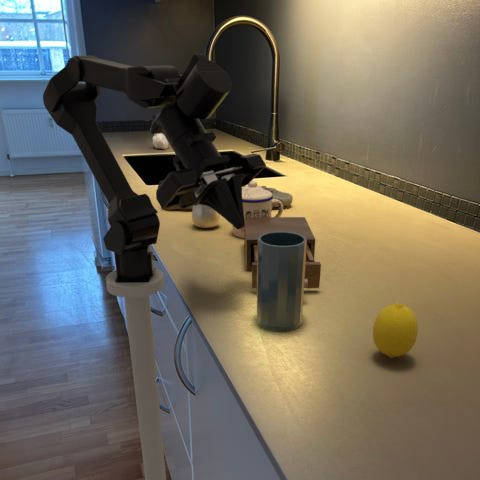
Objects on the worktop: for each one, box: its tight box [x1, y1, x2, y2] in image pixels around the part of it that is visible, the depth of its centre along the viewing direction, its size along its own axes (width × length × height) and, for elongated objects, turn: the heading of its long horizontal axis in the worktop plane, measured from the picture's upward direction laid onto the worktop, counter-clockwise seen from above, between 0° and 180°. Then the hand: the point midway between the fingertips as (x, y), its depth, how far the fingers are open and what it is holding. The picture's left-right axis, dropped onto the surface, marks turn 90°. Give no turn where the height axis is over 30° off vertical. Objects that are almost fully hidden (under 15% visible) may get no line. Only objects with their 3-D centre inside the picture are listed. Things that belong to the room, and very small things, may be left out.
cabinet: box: [243, 216, 316, 272], centre depth 101 cm, size 15×13×6 cm
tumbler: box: [256, 232, 307, 332], centre depth 75 cm, size 7×7×13 cm
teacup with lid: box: [232, 180, 284, 239], centre depth 114 cm, size 12×9×12 cm
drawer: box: [251, 244, 322, 290], centre depth 89 cm, size 18×11×4 cm, turn 1°
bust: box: [152, 133, 170, 150], centre depth 224 cm, size 12×8×11 cm
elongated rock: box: [165, 185, 293, 211], centre depth 136 cm, size 35×5×10 cm
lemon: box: [372, 302, 419, 359], centre depth 66 cm, size 6×6×8 cm
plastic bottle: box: [191, 204, 221, 229], centre depth 116 cm, size 6×7×20 cm
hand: (241, 227), depth 77 cm, fingers closed
